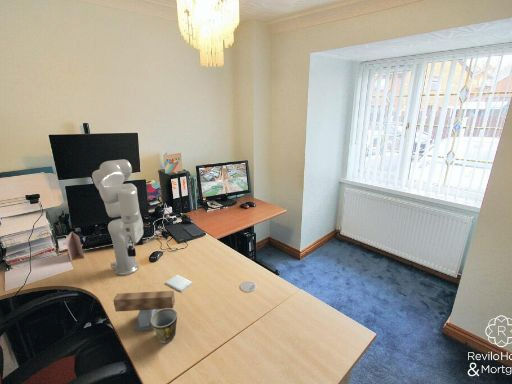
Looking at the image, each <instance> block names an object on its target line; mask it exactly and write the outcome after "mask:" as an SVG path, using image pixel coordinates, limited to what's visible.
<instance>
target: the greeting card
mask: <svg viewBox="0 0 512 384" xmlns="http://www.w3.org/2000/svg"><path fill="white" fill-rule="evenodd" d="M80 239H81V238H80V236H79V235H77V234H76V233H74V231H71V232H70V233H69V234H68V236H66V239H65V243H66V248H67V251H68V255H69V259H70V262H73V259H74V258H75V256H76V255H77V254H79V255H80V256H81V257H82V258H85V256H84V251H83V247H82V243H81V240H80Z"/></svg>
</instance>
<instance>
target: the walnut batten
mask: <svg viewBox="0 0 512 384" xmlns="http://www.w3.org/2000/svg"><path fill="white" fill-rule="evenodd" d="M112 301H113V305H114V310H115V312H131V311H132V312H134V311H140V310H153V309H165V308H171V309H174V306H175V304H176V299H175V291H174V290H161V291H142V292H127V293H126V292H125V293H124V292H123V293H121V292H120V293H117V294H116V295H115V297H114V298H113V300H112Z"/></svg>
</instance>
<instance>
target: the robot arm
mask: <svg viewBox="0 0 512 384" xmlns="http://www.w3.org/2000/svg"><path fill="white" fill-rule="evenodd" d="M132 172H133V167H132V164H131V163H130V162H129V160H127V159H124V158H123V159H116V160H114V159H113V160H107V161H104V162H102V163H101V164H100V165H99V169H96V170H94V171H93V172H92V174H91V177H92V181H93V183H94V186H95V187H96V189H97V190H98V191H99V193H98V194H99V195H100V198H101V200H102V201H103V203H104V204H103V205H104V206H105V211H106V214H107V216H108V217H109V218H115V219H113V220H112V221H110V222H109V223H108V225H107V230H108V232H109V235H110V238H111V241H112V245H113V250H114V256H115V262H110V269H114V272H115V274H116V276H129V275H131V274H133V273H135V272H136V271H138V270H139V268H140V264H139V262H137V261H136V258H135V257H136V256H137V252H136V248H135V245H136V246H142V245H144V238H143V235H144V222H143V218H142V214H141V211H140V203H139V198H138V189H137V188H138V187H136V185H135V184H133V183H131V182H130V183H124V182H127V181H128V180H129V179H130V177H131V175H132ZM119 217H121V218H119Z"/></svg>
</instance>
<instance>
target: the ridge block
mask: <svg viewBox="0 0 512 384" xmlns="http://www.w3.org/2000/svg"><path fill="white" fill-rule="evenodd" d="M159 310H161V309H153V310H138V311H139V312H138V314H137V319H138V320H137V321H136V323H135V326H134V328H133V331H134V332H144V331H146V332H147V331H155V330H154V329H153V326H152V323H151V318H152V316H153V315H154V314H155V313H156V312H157V311H159Z"/></svg>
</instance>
